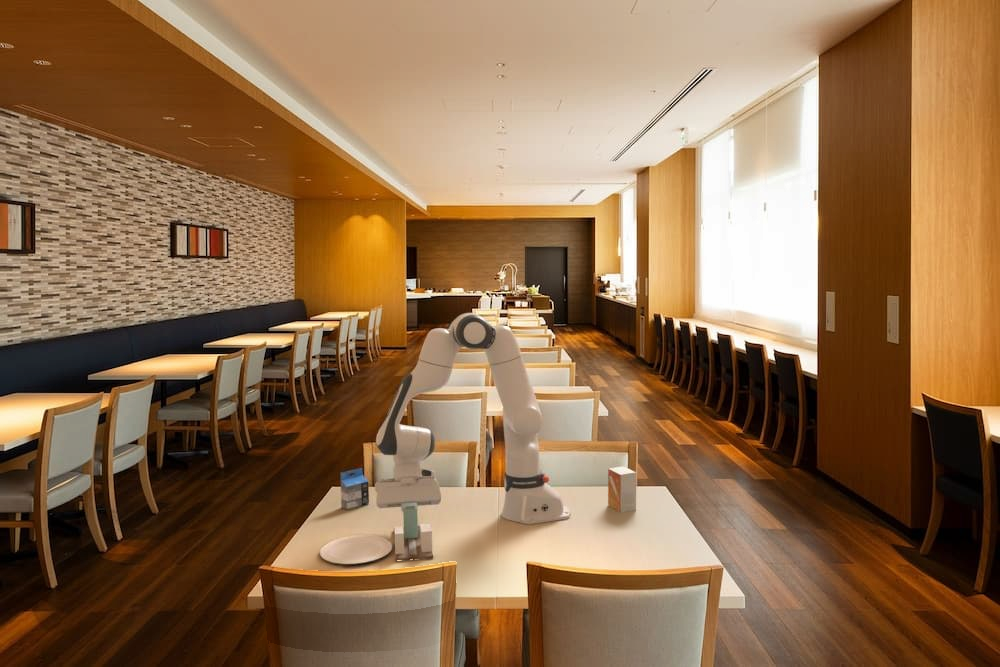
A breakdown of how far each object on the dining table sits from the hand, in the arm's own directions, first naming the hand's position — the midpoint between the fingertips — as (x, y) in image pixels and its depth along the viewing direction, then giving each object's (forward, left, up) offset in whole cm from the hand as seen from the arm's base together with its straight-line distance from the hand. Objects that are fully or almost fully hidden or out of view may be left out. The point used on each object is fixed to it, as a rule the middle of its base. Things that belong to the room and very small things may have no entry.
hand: (409, 518), depth 231 cm
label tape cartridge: (+17, -31, -6) cm, 36 cm away
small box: (-72, -11, -6) cm, 73 cm away
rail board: (0, +7, -5) cm, 9 cm away
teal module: (0, +4, -4) cm, 5 cm away
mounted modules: (0, +13, -4) cm, 14 cm away
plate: (+16, +11, -6) cm, 20 cm away
